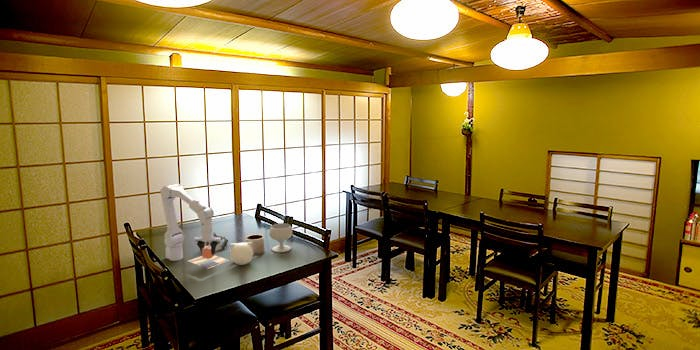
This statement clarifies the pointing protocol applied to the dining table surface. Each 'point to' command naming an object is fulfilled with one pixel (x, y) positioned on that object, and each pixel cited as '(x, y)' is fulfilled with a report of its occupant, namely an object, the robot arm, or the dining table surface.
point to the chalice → (280, 236)
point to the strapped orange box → (207, 252)
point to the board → (208, 261)
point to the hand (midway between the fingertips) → (208, 254)
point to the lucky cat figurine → (219, 243)
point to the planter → (256, 243)
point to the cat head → (241, 253)
